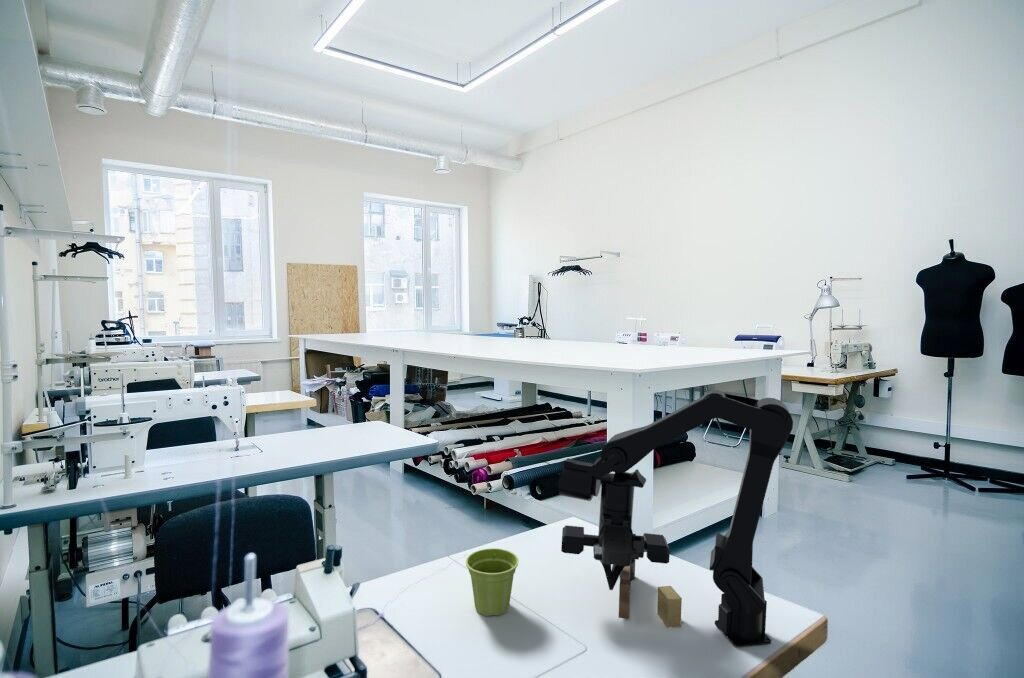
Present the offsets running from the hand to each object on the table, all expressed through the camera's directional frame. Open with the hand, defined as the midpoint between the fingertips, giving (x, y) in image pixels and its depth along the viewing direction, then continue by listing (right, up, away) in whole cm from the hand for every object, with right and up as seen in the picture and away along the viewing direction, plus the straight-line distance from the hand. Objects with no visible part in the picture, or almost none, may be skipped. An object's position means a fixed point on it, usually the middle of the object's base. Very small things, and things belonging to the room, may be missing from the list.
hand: (610, 588), depth 96 cm
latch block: (+9, -3, -5) cm, 11 cm away
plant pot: (-22, -3, -1) cm, 22 cm away
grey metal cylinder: (+5, -2, +9) cm, 11 cm away
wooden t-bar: (+3, -2, +1) cm, 3 cm away
